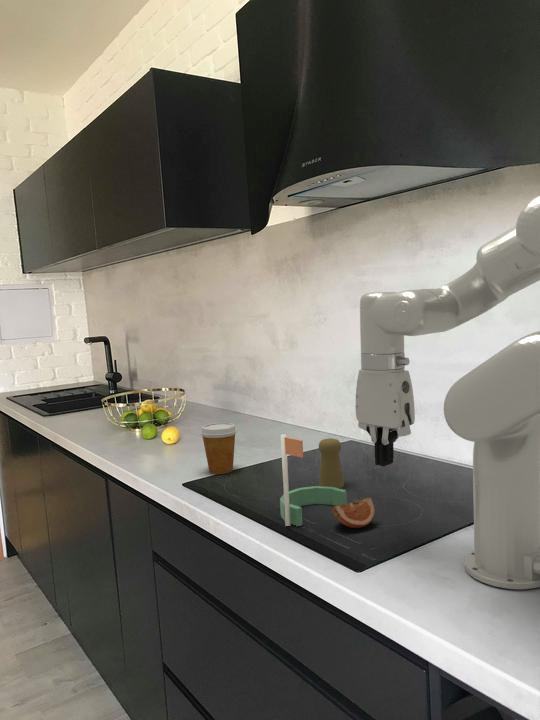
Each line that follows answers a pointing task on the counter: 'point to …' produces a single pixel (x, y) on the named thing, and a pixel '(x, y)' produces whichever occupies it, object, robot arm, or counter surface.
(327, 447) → the cork
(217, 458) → the disposable coffee cup
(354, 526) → the fruit slice
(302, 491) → the green segmented arc
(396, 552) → the counter surface
